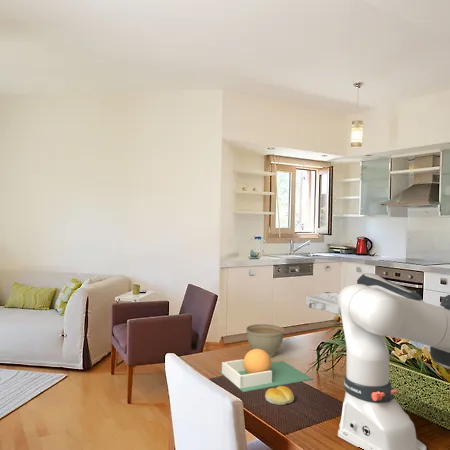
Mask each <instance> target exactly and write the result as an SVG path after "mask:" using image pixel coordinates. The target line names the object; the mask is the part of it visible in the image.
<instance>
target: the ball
mask: <svg viewBox="0 0 450 450" xmlns="http://www.w3.org/2000/svg"><path fill="white" fill-rule="evenodd" d="M243 358H244V361H243V365H244V369H245V371H246V372H247V374H252V373H258V372H264V371H270V368H271V363H272V360H271V357H269V355H268V354H267V353H266V352H265V351H263V350H261V349H253V350H252V349H251V350H249V351H248V352H246V354H245V356H244V357H243Z"/></svg>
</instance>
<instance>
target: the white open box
mask: <svg viewBox="0 0 450 450" xmlns="http://www.w3.org/2000/svg"><path fill="white" fill-rule="evenodd" d="M243 361H244V359H235V360H229V361H222V362H221V370H222V374H221V375H223V374H224V375H225V376H226V377H227V378H228V379H229V380H228V379H227V378H226V377H225V376H224V375H223V376H224V377H225V378H226V379H227V380H228V381H230V380H231V381H232V382H233V383H234V384H235V385H236V387H237V386H238V387H239V388H245V387H251V386H257V385H262V384H268V383H272V371H271V370H270V371H264V372H258V373H252V374H246V375H240V374H239V373H238V372H239V371H245V369H244V365H243ZM231 381H230V382H231ZM232 382H231V383H232ZM233 383H232V384H233ZM234 384H233V385H234ZM235 385H234V386H235ZM238 387H237V388H238ZM239 388H238V389H239Z"/></svg>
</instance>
